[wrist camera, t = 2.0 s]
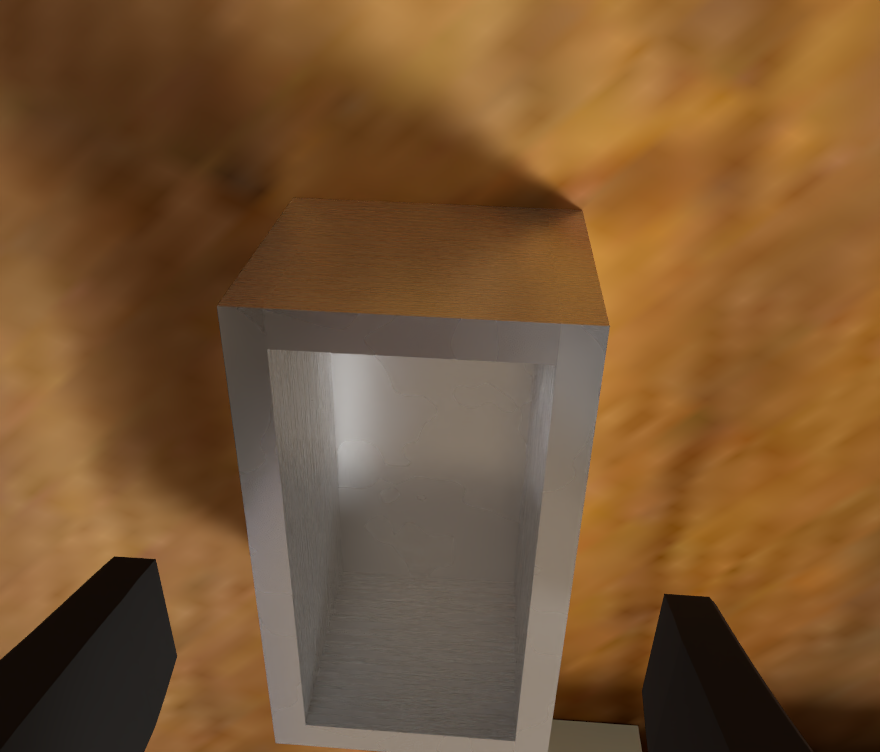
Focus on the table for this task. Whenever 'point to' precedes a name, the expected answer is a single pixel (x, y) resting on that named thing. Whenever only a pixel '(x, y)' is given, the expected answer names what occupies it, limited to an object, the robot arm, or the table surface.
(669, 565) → the table surface
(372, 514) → the box
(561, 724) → the stand
